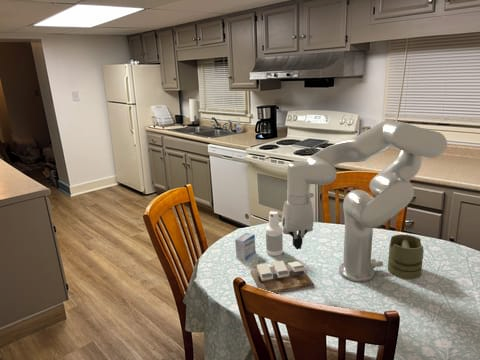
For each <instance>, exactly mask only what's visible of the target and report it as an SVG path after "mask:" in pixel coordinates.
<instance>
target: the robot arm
mask: <svg viewBox="0 0 480 360" xmlns="http://www.w3.org/2000/svg"><path fill="white" fill-rule="evenodd" d="M447 146H448V140H447V138H446V136H445V135H444V134H443V133H441V132H440V131H436V130H431V129H428V128H425V127H424V128H423V127H419V126H416V125H413V124H410V123H407V122H403V121H399V120H393V119H386V120H384V121H381V122H380V123H377V124H376V125H374V126H372V127H370V128H369V129H367V130H365V131H363V132H362V133H360V134H358V135H357V136H354V137H353V138H351V139H347V140H344V141H340V142H338V143H335V144H332V145H329V146H326V147H325V148H322V149H321V150H319V151H317V152H316V153H313V154H311V156H309V157H308V158H307V159H306V161H304V160H295V161H290V162H289V163H288V164H287V172H286V174H287V177H286V179H287V182H286V183H287V184H286V185H287V188H286V191H287V193H286V194H287V195H286V198H287V200H285V201H284V202H283V203H284V204H283V208H282V215H281V227H282V234H284V235H290V236H291V237H292V246H293V247H294V248H295V249H296V250H301V249H302V246H303V239H304V238H305V236H306V234H307V233H309V232H312V231H313V230H314V228H313V227H314V210H313V203H312V201H311V199H312V198H314V193H311V185H318V186H325V185H326V186H327V185H330V184H331V183H333V182H335V180H336V178H337V175H338V173H337V170H336V167H335V166H337V165H340V164H344V163H361V162H362V163H363V162H365V161H368V160H369V159H371V158H373V157H374V156H376V155H377V154H378V155H379V154H380V153H381V152H383V151H386V150H387V149H389V148H393V149H396V150H397V151H399V154H398V156H397V157H396V158H395V159H394V160H393V161H392V162H391V163H390V164H389V165H387V166H386V167H384V168H383V169H382V170H381V171H379V172H378V173H377V174H376V175H375V176H374V177H373V178H372V179H371V180H370V182H369V189H370V191H371V193H373V195H375V196H373V195H371V194H370V193H369V192H367V191H364V190H362V189H353V190H351V191H349V192H348V193H347V194H346V195H345V196H344V199H343V204H342V208H343V214H344V215H343V216H344V240H343V262H342V263H341V264H340V265H339V266H338V272H339V274H340V275H341V276H342V278H344V279H347V280H349V281H352V282H353V281H354V282H366V281H370V280H372V279H373V278H375V275H376V274H375V273H376V271H375V268H376V267H383V265H384V264H383V261H382V260H378V261H377V260H376V259H375V258H372V248H373V235H374V229H375V228H378V227H382V226H383V225H385V224H386V223H387V222H388V221H389V220H391V219H392V218H393V217H394V216H396V215H397V214H399V212H401V211H403V209H404V208H405V207H407V206H408V205H409V204H410V203H411V201H412V199H413V198H414V193H415V191H414V186H413V185H412V183H411V182H410V181H411V180H412V179H413V178H414V177H416V175H417V174H418V173H419V172H420V170H421V166H422V160H423V157H424V158H427V159H434V158H435V159H436V158H438V157H439V156H441V155H443V153H445V152H446V149H447Z"/></svg>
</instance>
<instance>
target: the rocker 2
mask: <svg viewBox="0 0 480 360" xmlns="http://www.w3.org/2000/svg"><path fill="white" fill-rule="evenodd" d="M287 264H288V266H289V267H290V268H291V269H292V270H293V271H294V272H298V271H306V267H305V265H303V264H302V263H300V261H291V262H287Z"/></svg>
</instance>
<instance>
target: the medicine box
mask: <svg viewBox="0 0 480 360" xmlns="http://www.w3.org/2000/svg"><path fill="white" fill-rule="evenodd" d="M234 241H235V243H234V244H235V256H236V257H235V258H236V259H239V260H240V261H241V260H242V261H244V262H245V261H247V260H248V259H250V258H251V257H252V256H253V255H254V254H256V253H257V252H256V250H257V249H256V235H255V234H253V233H250V232H245V233H243V234H241V236H239V237H237V238H236V239H235V240H234Z"/></svg>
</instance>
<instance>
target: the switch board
mask: <svg viewBox="0 0 480 360" xmlns="http://www.w3.org/2000/svg"><path fill="white" fill-rule="evenodd" d="M284 264H285V266H286V268H287V270H288V272H289V276H287V277H281V278H278V276H277V274H276V272H275V269H274V267H273V265H272V266H269V268H270V270H271V273H272V275H273V279H270V280H264V281H262V280H261V277H260V274H259V272H258V269H257V268H255V269H250V274H251V277H252V278H253V280H254V283H255V285H256V287H257V289H258V288H261V289H264V290H267V291H271V292H274V293H273V294H276V293H283V292H289V291H294V290H300V289H305V288H312V287H314V284H315V283H314V282H313V280H312V279H311V278H310V276H309V275H308V273H307V272H306V270H304V271H298V272H294V271H293V270H292V269H291V268H290V267H289V266H288V263H284Z"/></svg>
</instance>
